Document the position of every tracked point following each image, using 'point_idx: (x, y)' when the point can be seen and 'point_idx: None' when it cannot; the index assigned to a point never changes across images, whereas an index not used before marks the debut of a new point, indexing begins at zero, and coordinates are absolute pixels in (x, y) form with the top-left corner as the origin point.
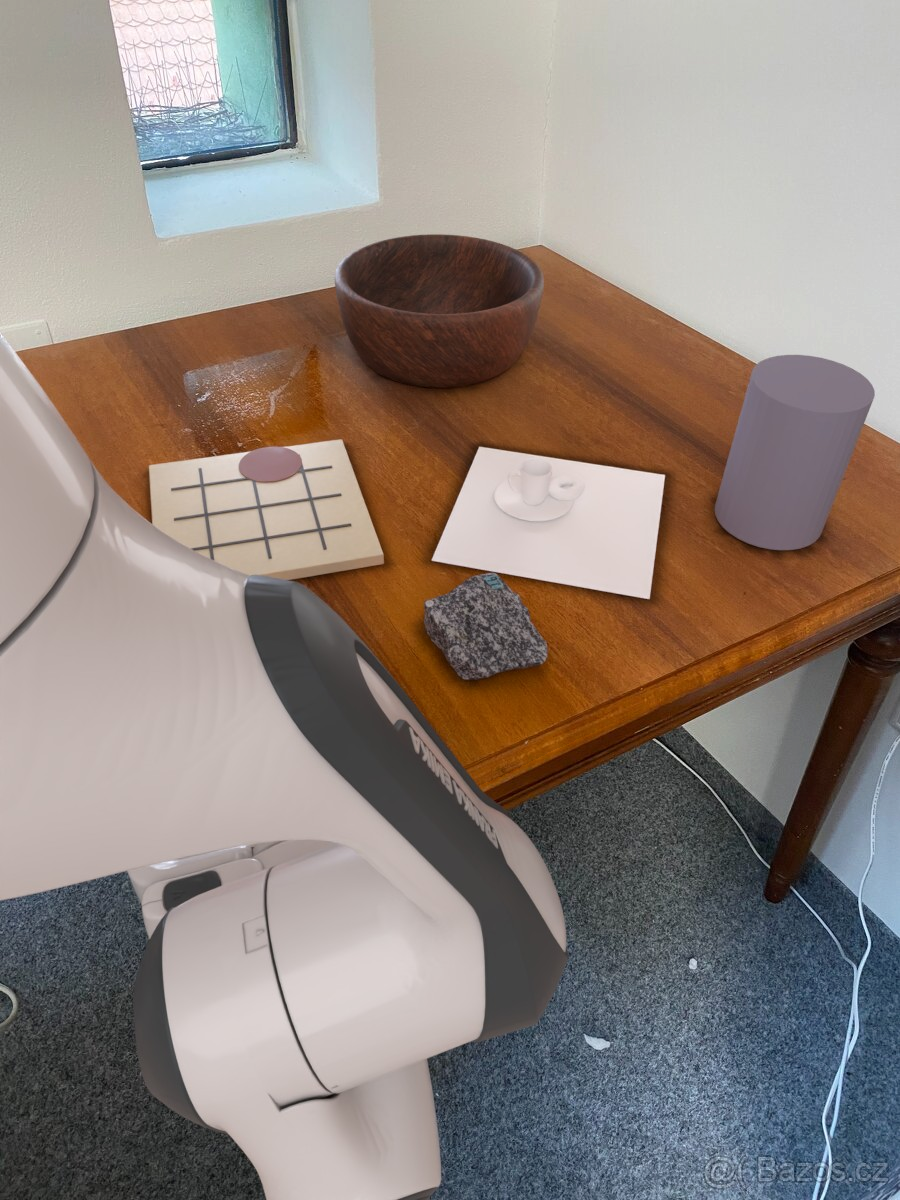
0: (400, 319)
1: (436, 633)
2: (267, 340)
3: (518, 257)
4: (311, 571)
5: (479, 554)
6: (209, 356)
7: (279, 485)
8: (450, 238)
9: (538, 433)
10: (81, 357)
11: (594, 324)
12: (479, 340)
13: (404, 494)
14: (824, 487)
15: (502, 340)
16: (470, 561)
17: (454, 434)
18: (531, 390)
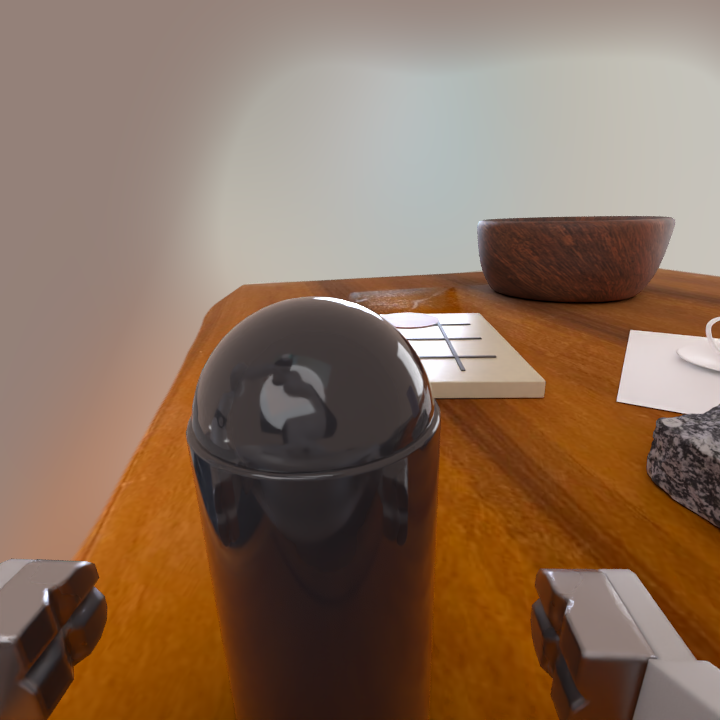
0: (541, 227)
1: (696, 480)
2: (417, 284)
3: (637, 218)
4: (443, 390)
5: (693, 402)
6: (372, 288)
7: (414, 330)
8: (569, 218)
9: (697, 326)
10: (285, 286)
11: (703, 285)
12: (619, 247)
13: (554, 351)
14: None
15: (640, 253)
16: (682, 408)
17: (596, 323)
18: (666, 307)
